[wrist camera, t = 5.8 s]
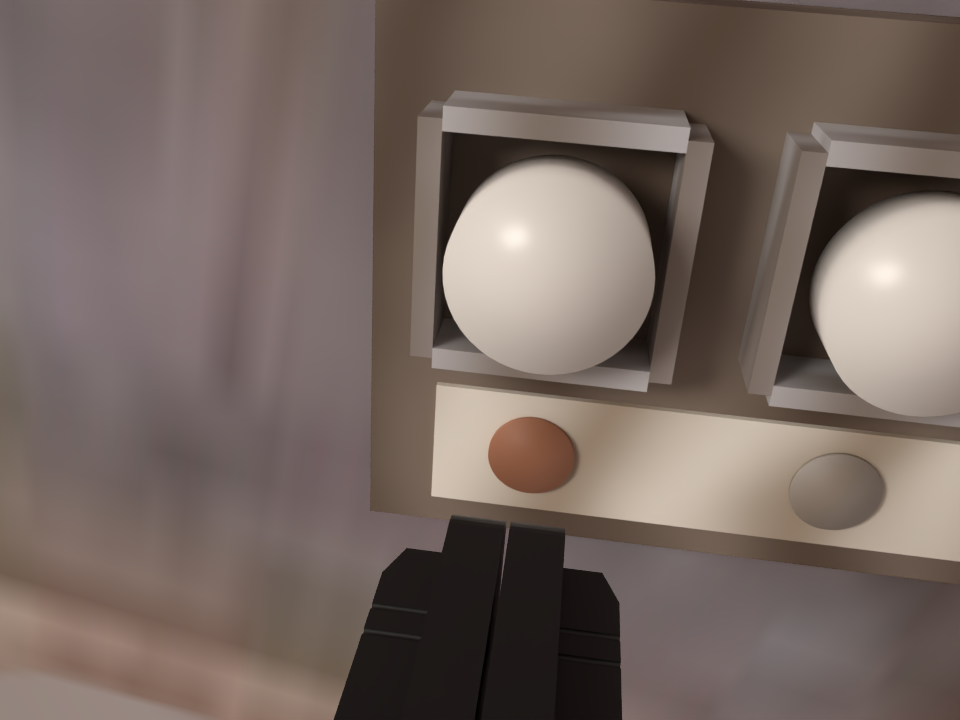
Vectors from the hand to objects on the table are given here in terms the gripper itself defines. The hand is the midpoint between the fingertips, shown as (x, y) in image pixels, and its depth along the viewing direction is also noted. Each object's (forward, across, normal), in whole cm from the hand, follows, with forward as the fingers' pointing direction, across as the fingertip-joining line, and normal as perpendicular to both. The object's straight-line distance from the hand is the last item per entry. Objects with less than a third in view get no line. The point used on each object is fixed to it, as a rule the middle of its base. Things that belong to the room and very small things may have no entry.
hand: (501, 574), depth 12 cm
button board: (+16, -9, +2) cm, 19 cm away
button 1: (+13, 0, 0) cm, 13 cm away
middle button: (+13, -9, 0) cm, 15 cm away
